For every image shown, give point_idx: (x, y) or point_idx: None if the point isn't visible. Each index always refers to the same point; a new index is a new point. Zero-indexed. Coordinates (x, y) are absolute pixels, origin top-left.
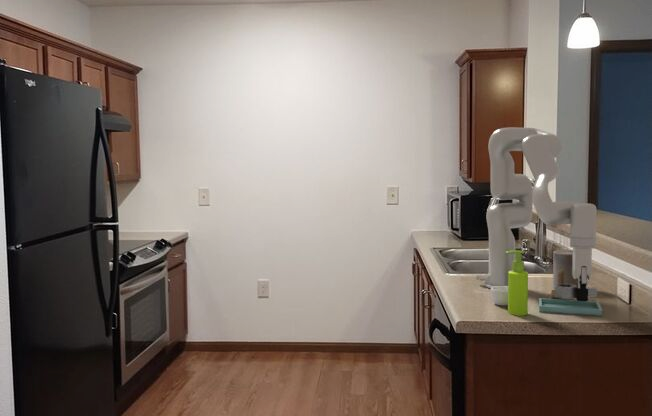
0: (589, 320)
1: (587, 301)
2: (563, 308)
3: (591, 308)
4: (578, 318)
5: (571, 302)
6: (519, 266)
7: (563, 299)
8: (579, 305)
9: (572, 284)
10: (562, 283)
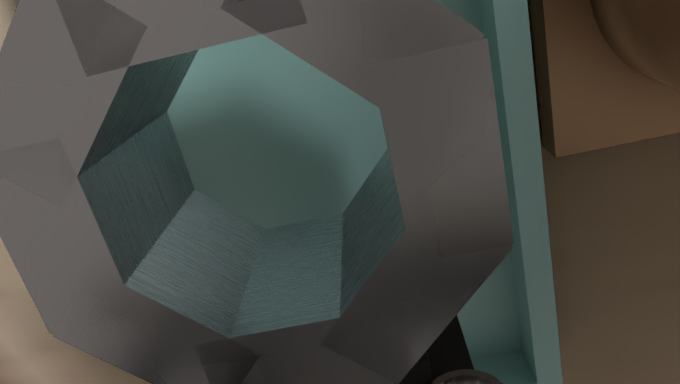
0: (29, 339)
1: (540, 308)
2: None
3: None
4: None
5: (502, 133)
6: None
7: (604, 14)
8: None
9: (430, 316)
10: (471, 87)
